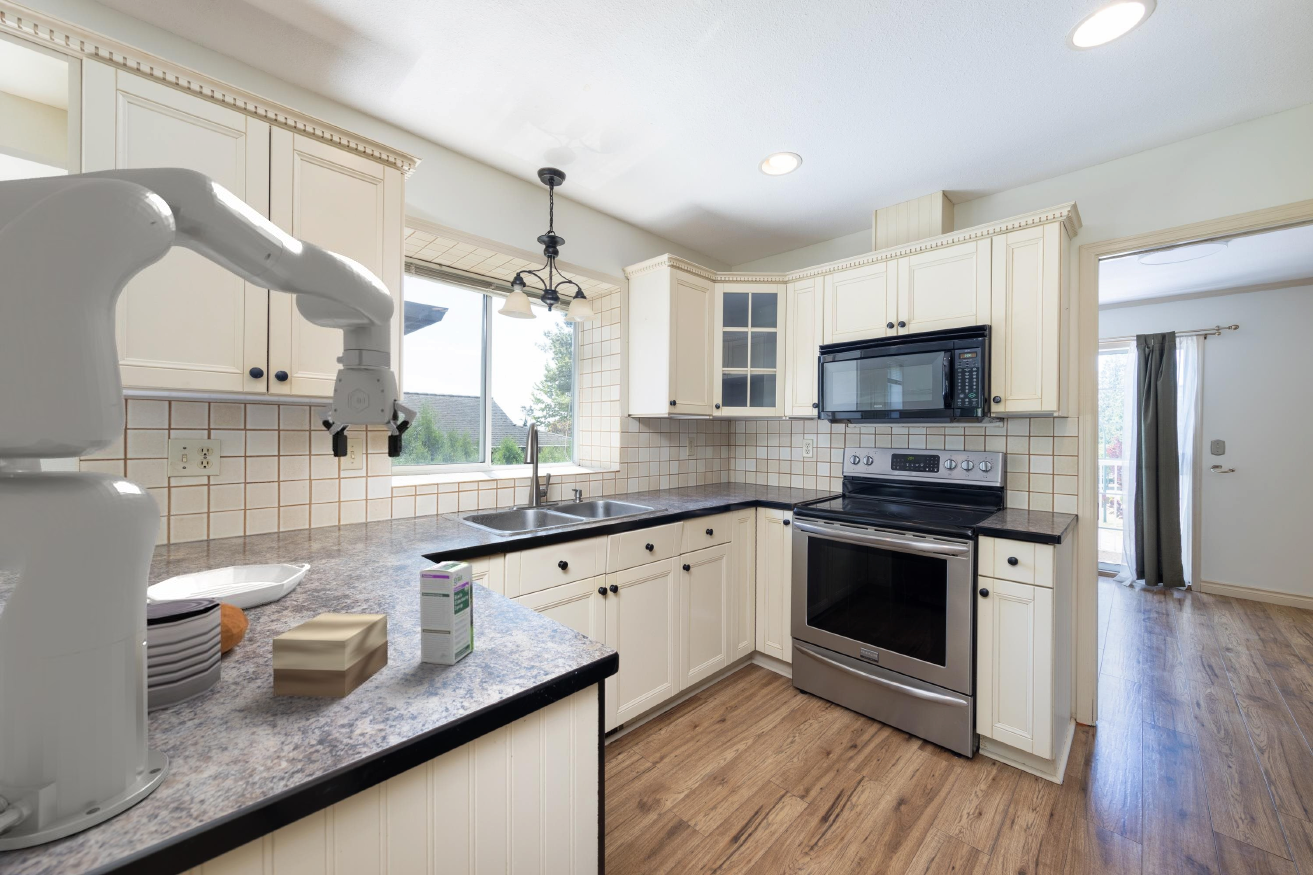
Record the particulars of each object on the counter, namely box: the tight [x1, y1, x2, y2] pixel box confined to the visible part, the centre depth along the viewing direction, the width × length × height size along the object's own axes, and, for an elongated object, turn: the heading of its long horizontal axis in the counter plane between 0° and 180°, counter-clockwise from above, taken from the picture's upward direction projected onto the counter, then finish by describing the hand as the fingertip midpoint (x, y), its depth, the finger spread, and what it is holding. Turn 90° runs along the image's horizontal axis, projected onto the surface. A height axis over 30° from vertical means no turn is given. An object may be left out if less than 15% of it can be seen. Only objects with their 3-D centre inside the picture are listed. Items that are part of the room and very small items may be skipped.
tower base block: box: [272, 639, 389, 698], centre depth 74 cm, size 10×10×4 cm
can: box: [147, 598, 223, 713], centre depth 70 cm, size 11×11×12 cm
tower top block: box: [272, 612, 388, 671], centre depth 74 cm, size 10×10×4 cm
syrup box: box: [419, 560, 475, 666], centre depth 81 cm, size 6×6×14 cm
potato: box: [219, 603, 249, 655], centre depth 82 cm, size 9×11×8 cm
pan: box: [147, 563, 311, 611], centre depth 109 cm, size 31×26×4 cm
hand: (367, 456), depth 94 cm, fingers open, 9 cm apart
